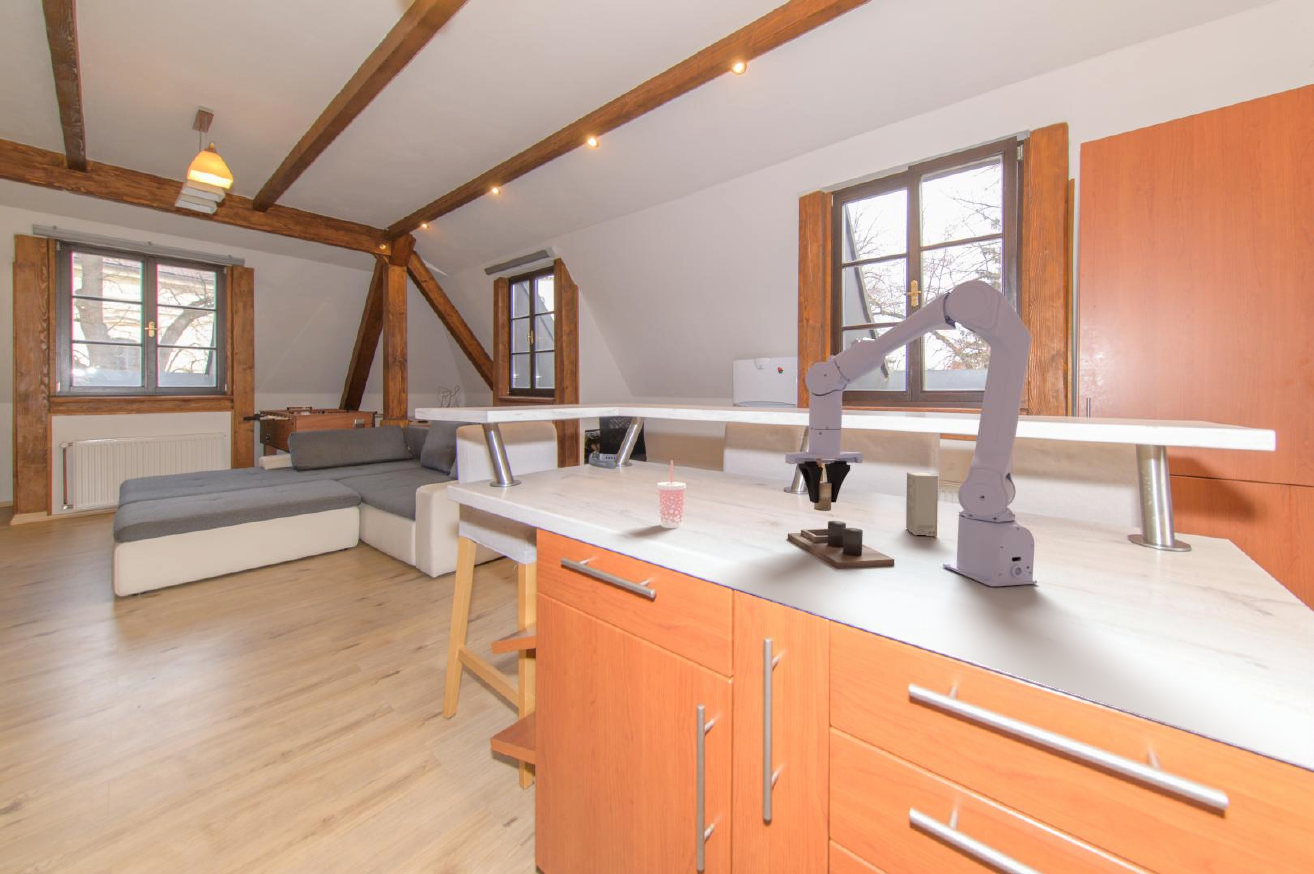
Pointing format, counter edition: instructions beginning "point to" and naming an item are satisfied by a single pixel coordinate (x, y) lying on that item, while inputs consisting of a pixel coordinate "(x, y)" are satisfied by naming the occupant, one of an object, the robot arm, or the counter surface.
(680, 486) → the beverage cup
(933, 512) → the skincare box
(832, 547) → the pin board
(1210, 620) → the counter surface
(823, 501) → the maple pin
